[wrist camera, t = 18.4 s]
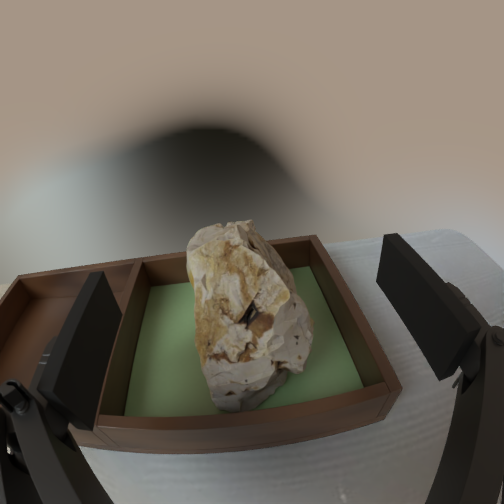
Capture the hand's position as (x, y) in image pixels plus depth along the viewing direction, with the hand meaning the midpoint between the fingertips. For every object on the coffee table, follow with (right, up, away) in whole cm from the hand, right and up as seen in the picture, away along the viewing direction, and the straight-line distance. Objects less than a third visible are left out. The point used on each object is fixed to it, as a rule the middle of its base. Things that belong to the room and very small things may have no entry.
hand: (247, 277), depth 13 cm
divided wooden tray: (-9, -7, +7) cm, 13 cm away
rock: (0, -5, +7) cm, 9 cm away
